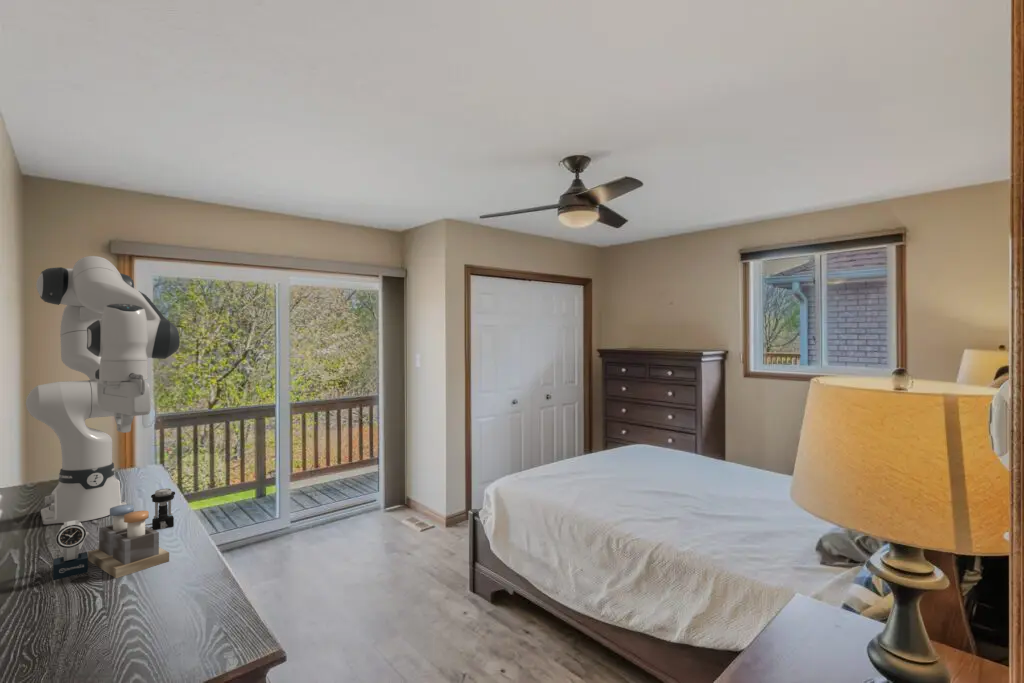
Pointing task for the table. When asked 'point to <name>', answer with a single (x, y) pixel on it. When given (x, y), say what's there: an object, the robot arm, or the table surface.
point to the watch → (70, 551)
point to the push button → (162, 509)
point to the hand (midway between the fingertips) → (123, 431)
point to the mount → (127, 551)
